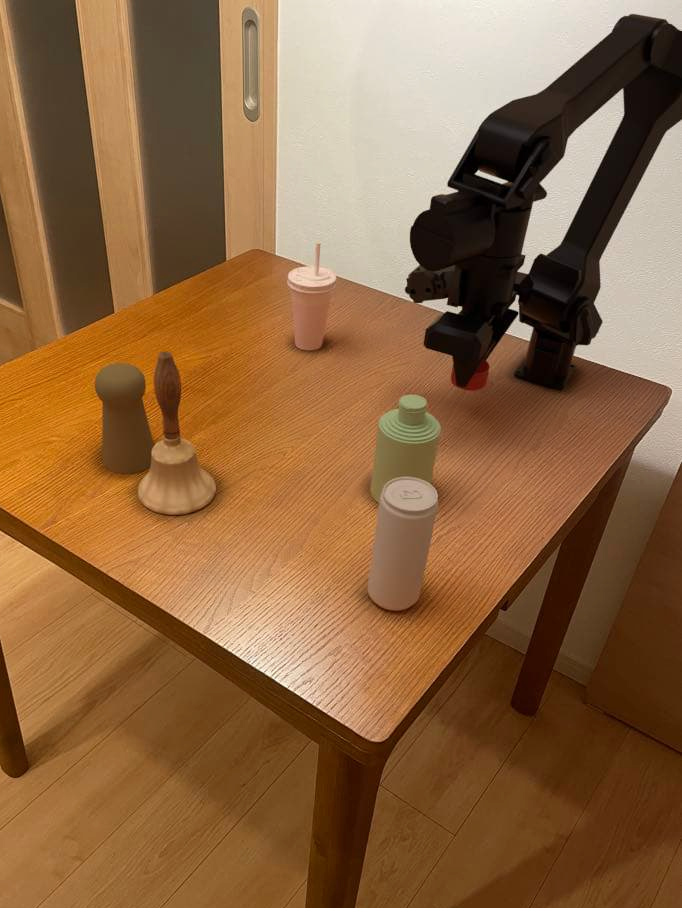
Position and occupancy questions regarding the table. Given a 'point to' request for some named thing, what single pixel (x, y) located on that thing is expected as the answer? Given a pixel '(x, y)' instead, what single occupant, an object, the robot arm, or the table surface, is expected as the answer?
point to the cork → (124, 419)
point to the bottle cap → (474, 378)
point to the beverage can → (402, 542)
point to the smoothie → (310, 302)
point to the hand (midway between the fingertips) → (467, 378)
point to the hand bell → (173, 454)
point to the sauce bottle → (405, 444)
